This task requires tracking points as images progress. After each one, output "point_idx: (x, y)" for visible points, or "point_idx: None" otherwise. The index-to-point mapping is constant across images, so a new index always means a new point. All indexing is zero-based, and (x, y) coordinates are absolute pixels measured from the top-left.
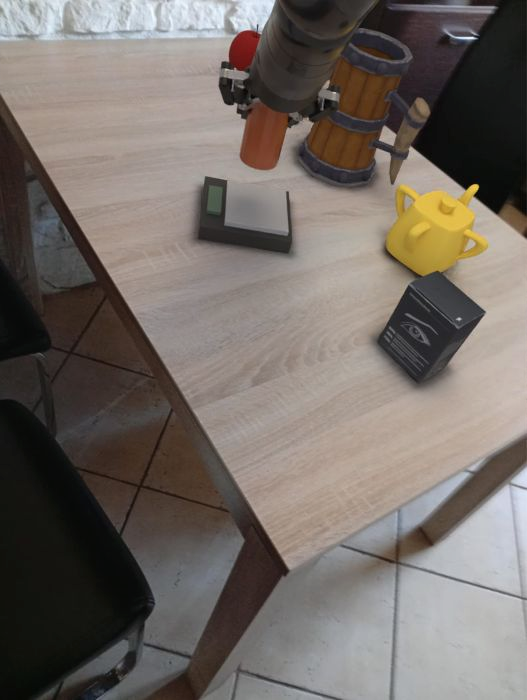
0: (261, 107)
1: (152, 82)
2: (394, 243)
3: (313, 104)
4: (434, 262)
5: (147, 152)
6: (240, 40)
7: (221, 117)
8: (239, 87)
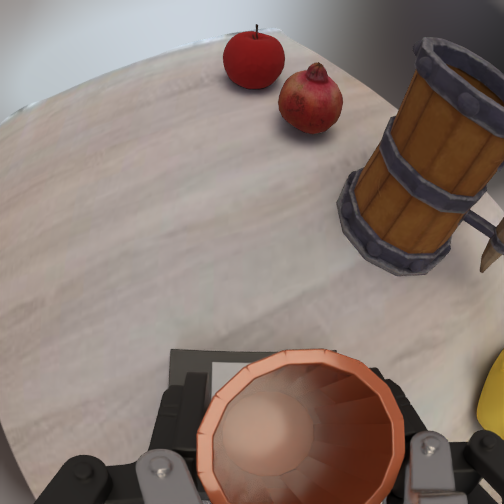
0: None
1: (123, 119)
2: (492, 427)
3: (474, 475)
4: None
5: (89, 274)
6: (235, 44)
7: (212, 155)
8: (124, 500)
